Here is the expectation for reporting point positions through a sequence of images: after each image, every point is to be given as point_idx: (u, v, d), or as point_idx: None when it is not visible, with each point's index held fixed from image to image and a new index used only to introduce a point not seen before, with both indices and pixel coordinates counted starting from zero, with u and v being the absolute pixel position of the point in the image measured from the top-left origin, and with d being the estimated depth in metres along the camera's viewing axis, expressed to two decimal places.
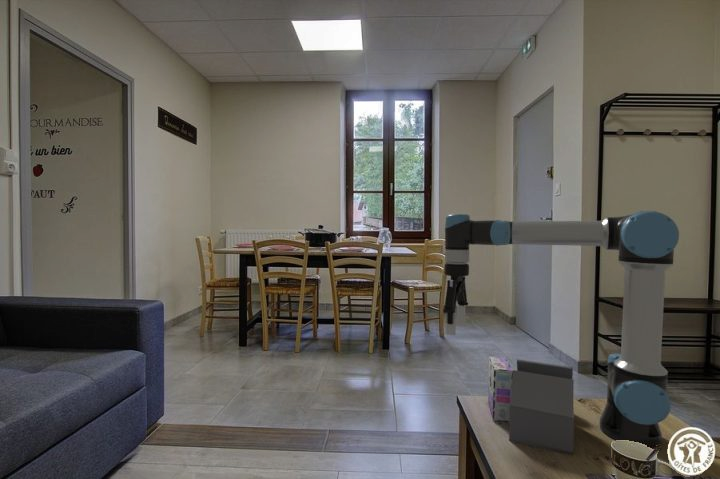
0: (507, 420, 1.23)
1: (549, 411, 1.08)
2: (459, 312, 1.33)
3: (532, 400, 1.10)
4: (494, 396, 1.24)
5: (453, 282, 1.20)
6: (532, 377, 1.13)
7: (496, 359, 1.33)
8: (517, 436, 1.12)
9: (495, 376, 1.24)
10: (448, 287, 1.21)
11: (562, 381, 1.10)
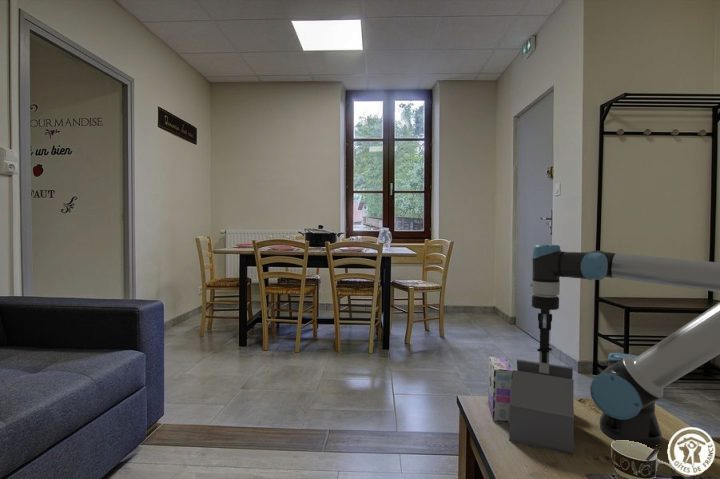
0: (507, 420, 1.23)
1: (549, 411, 1.08)
2: None
3: (532, 400, 1.10)
4: (494, 396, 1.24)
5: (547, 325, 1.15)
6: (532, 377, 1.13)
7: (496, 359, 1.33)
8: (517, 436, 1.12)
9: (495, 376, 1.24)
10: (541, 328, 1.17)
11: (562, 381, 1.10)
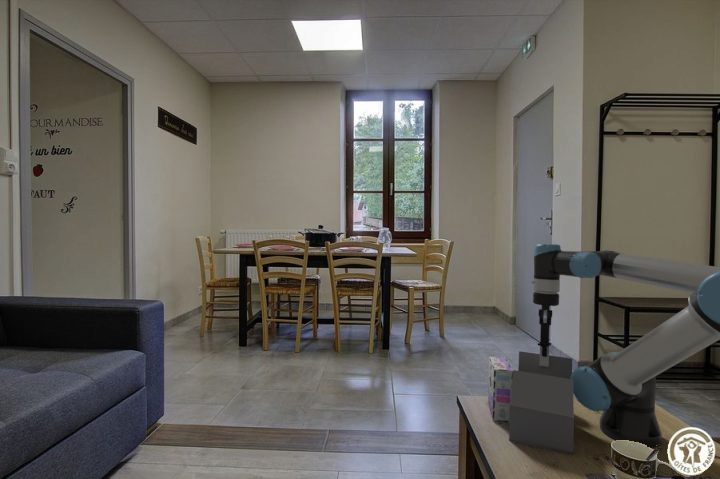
0: (507, 420, 1.23)
1: (549, 411, 1.08)
2: None
3: (532, 400, 1.10)
4: (494, 396, 1.24)
5: (547, 320, 1.22)
6: (532, 377, 1.13)
7: (496, 359, 1.33)
8: (517, 436, 1.12)
9: (495, 376, 1.24)
10: (542, 323, 1.23)
11: (562, 381, 1.10)
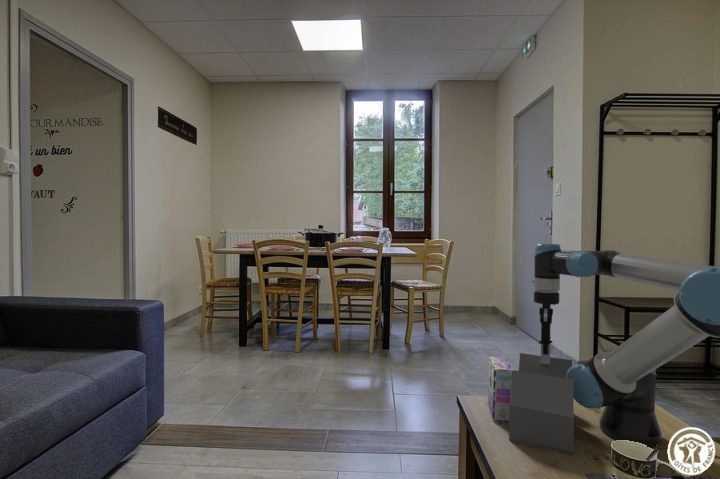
0: (507, 420, 1.23)
1: (549, 411, 1.08)
2: None
3: (532, 400, 1.10)
4: (494, 396, 1.24)
5: (547, 319, 1.24)
6: (532, 377, 1.13)
7: (496, 359, 1.33)
8: (517, 436, 1.12)
9: (495, 376, 1.24)
10: (542, 322, 1.25)
11: (562, 381, 1.10)
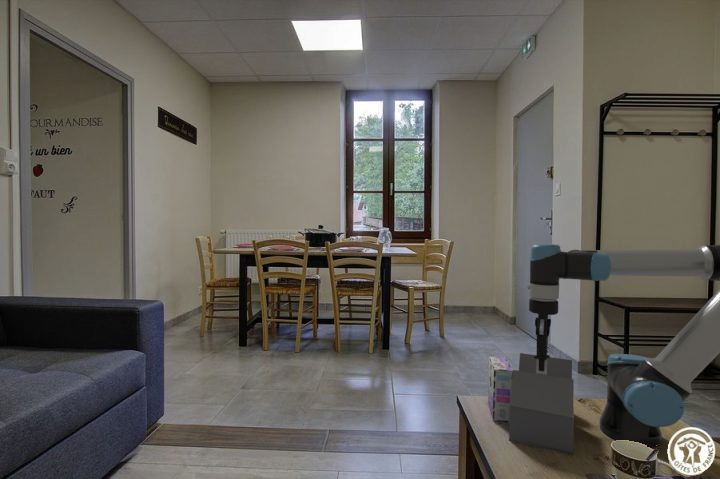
0: (507, 420, 1.23)
1: (549, 411, 1.08)
2: None
3: (532, 400, 1.10)
4: (494, 396, 1.24)
5: (544, 332, 1.07)
6: (532, 377, 1.13)
7: (496, 359, 1.33)
8: (517, 436, 1.12)
9: (495, 376, 1.24)
10: (538, 335, 1.09)
11: (562, 381, 1.10)
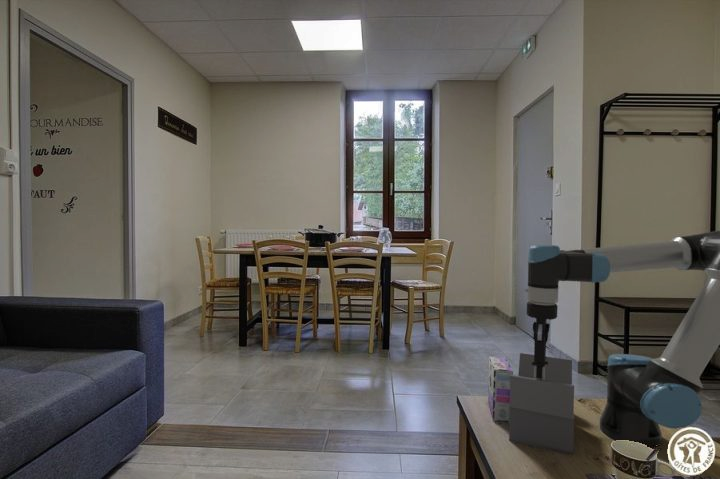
0: (507, 420, 1.23)
1: (549, 413, 1.07)
2: None
3: (531, 403, 1.09)
4: (494, 396, 1.24)
5: (542, 337, 1.02)
6: (530, 383, 1.08)
7: (496, 359, 1.33)
8: (517, 436, 1.12)
9: (495, 376, 1.24)
10: (536, 341, 1.03)
11: (562, 387, 1.04)
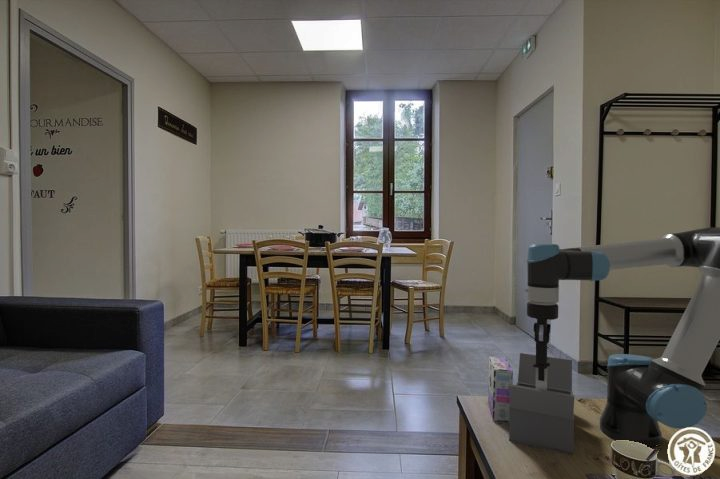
0: (507, 420, 1.23)
1: (549, 414, 1.07)
2: None
3: (531, 406, 1.08)
4: (494, 396, 1.24)
5: (543, 338, 0.99)
6: (529, 392, 1.05)
7: (496, 359, 1.33)
8: (517, 436, 1.12)
9: (495, 376, 1.24)
10: (537, 342, 1.01)
11: (562, 397, 1.02)
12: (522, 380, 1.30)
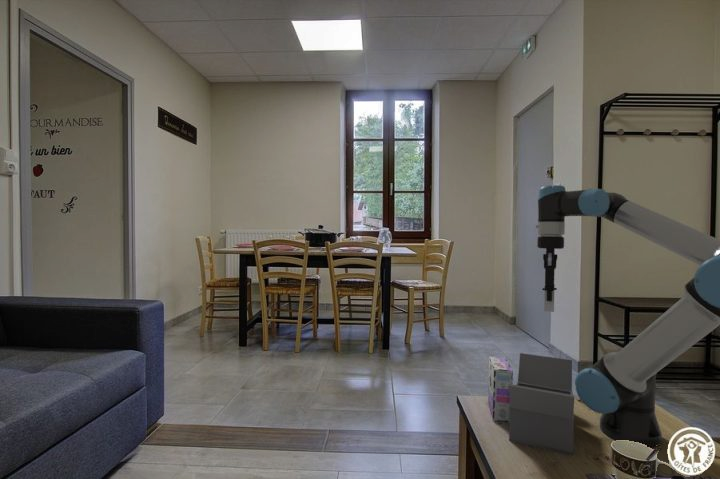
0: (507, 420, 1.23)
1: (549, 414, 1.07)
2: None
3: (531, 406, 1.08)
4: (494, 396, 1.24)
5: (552, 262, 1.19)
6: (529, 392, 1.05)
7: (496, 359, 1.33)
8: (517, 436, 1.12)
9: (495, 376, 1.24)
10: (546, 266, 1.20)
11: (562, 397, 1.02)
12: (522, 380, 1.30)
